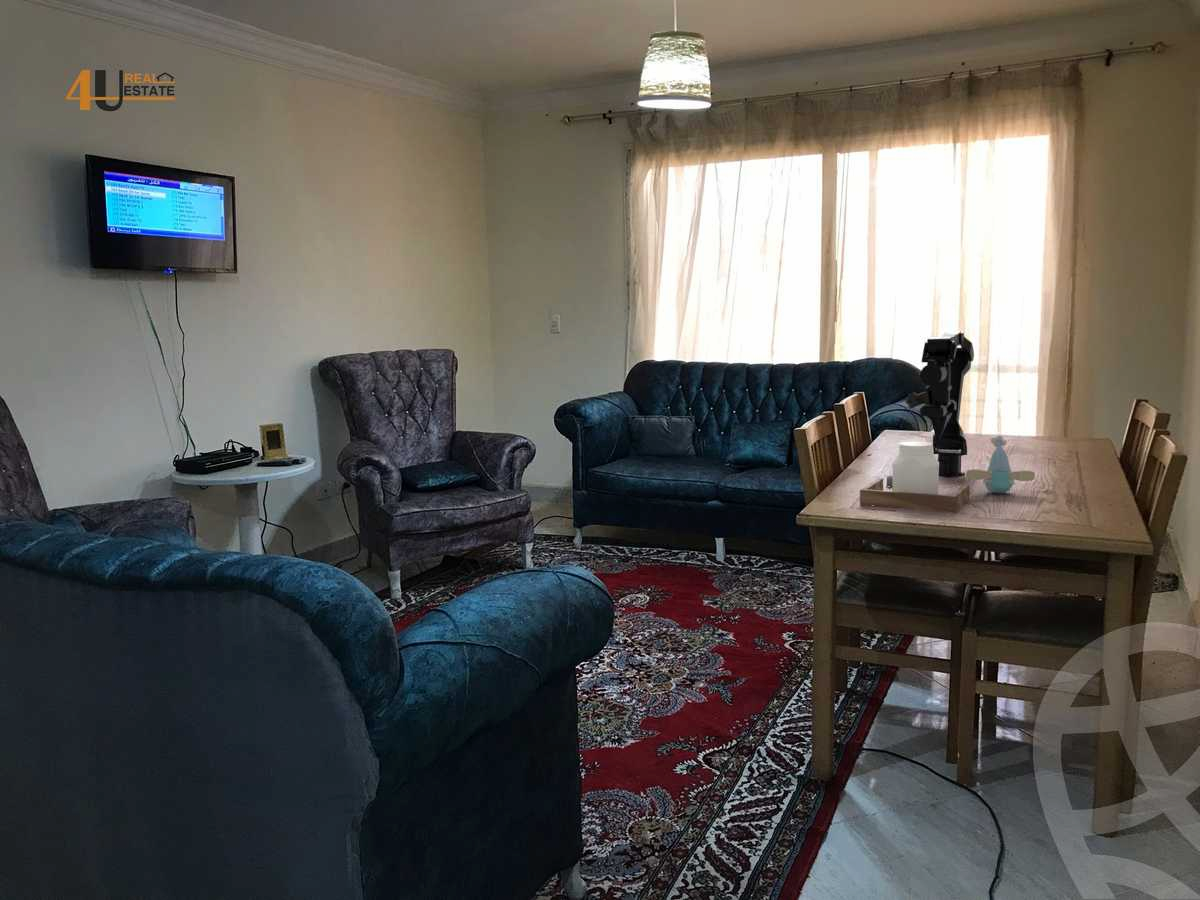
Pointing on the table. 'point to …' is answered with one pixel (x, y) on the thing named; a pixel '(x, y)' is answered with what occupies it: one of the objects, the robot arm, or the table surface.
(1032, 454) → the table surface
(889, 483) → the wheel
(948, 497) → the wooden tray
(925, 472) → the jar
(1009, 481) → the blue winged piece
